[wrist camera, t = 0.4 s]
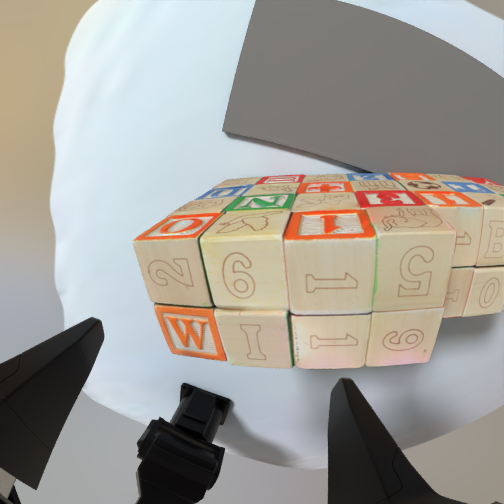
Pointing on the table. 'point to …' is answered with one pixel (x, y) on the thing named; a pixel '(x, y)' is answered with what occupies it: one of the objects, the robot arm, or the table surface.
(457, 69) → the mat
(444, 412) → the table surface
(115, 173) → the table surface
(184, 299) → the stack of blocks
